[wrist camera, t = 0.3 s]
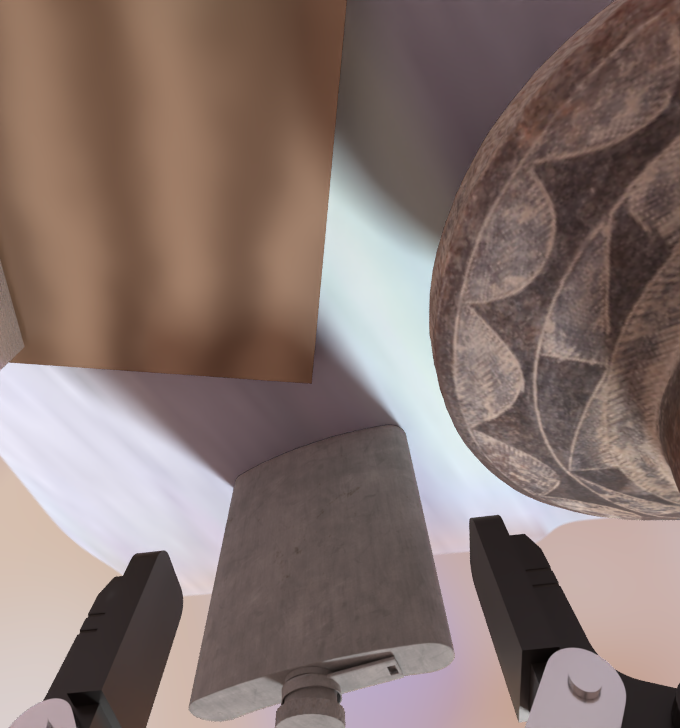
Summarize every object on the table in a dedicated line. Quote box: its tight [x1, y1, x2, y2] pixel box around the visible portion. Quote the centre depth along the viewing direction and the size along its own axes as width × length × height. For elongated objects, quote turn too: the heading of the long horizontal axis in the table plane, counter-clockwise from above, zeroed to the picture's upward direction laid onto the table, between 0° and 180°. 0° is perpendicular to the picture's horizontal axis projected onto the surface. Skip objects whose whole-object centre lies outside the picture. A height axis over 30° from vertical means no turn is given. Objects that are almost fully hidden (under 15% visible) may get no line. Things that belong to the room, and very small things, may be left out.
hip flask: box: [189, 425, 455, 728], centre depth 33 cm, size 16×4×20 cm, turn 113°
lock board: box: [0, 0, 347, 384], centre depth 25 cm, size 24×25×7 cm
